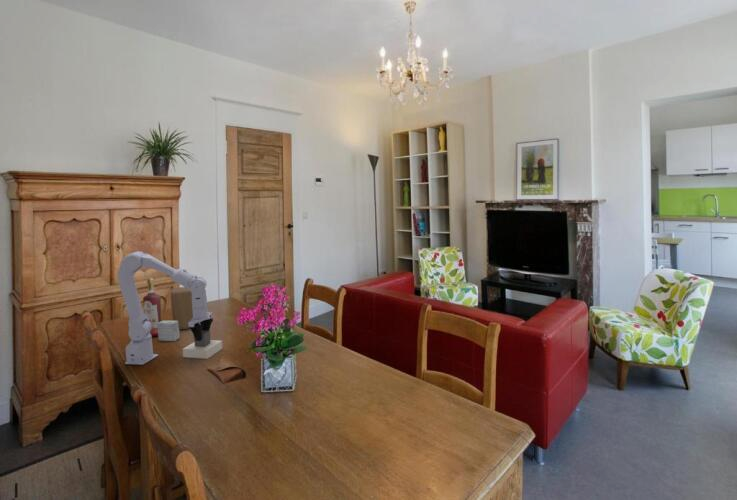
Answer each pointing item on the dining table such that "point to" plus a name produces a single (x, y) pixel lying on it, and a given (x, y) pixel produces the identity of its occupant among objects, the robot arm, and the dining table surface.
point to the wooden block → (182, 306)
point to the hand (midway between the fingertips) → (202, 338)
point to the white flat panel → (202, 350)
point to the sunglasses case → (226, 370)
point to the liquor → (152, 307)
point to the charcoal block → (203, 339)
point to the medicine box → (168, 330)
